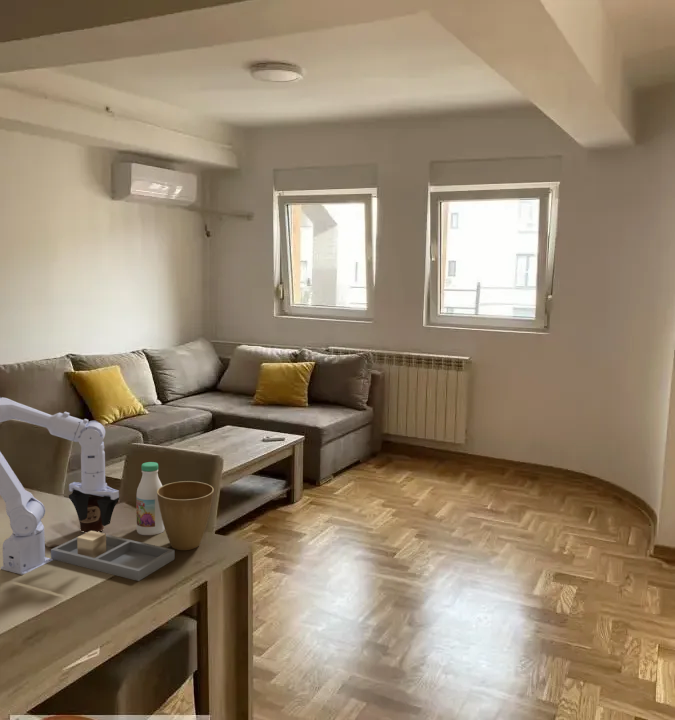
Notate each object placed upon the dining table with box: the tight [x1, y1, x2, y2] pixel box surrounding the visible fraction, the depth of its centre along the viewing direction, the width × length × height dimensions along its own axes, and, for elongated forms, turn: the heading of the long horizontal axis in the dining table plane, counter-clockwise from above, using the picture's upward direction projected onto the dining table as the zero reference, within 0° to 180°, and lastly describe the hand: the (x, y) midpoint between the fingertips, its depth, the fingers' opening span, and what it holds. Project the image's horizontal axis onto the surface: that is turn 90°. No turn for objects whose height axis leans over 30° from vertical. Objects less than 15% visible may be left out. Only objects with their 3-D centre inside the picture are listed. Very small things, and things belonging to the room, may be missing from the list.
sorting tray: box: [50, 534, 176, 582], centre depth 180 cm, size 14×28×3 cm, turn 66°
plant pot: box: [157, 480, 215, 551], centre depth 189 cm, size 15×15×16 cm
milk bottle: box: [135, 461, 165, 536], centre depth 198 cm, size 8×8×20 cm
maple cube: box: [76, 531, 107, 558], centre depth 182 cm, size 5×5×5 cm
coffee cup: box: [78, 494, 105, 532], centre depth 198 cm, size 9×8×13 cm
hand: (94, 521), depth 178 cm, fingers open, 7 cm apart
